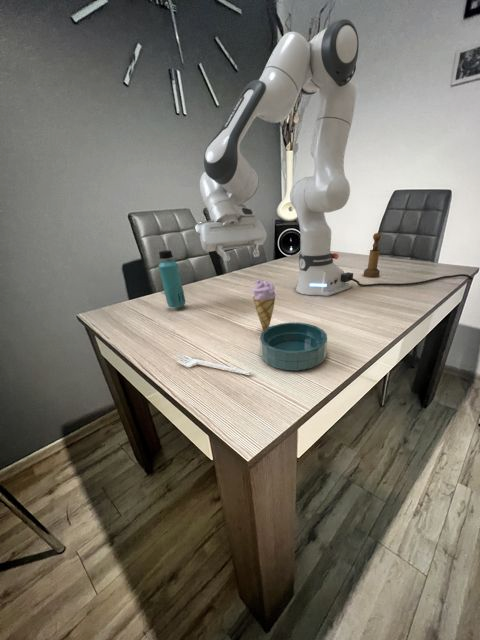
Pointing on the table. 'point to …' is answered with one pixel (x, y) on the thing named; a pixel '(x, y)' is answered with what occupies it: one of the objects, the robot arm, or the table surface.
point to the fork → (206, 364)
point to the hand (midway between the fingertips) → (242, 258)
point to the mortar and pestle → (373, 259)
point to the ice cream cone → (264, 301)
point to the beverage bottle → (171, 280)
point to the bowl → (293, 346)
